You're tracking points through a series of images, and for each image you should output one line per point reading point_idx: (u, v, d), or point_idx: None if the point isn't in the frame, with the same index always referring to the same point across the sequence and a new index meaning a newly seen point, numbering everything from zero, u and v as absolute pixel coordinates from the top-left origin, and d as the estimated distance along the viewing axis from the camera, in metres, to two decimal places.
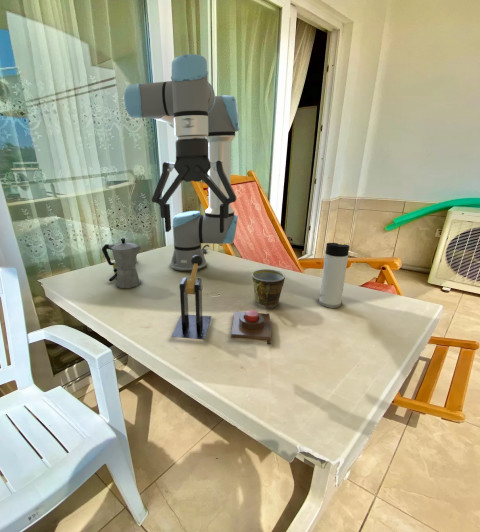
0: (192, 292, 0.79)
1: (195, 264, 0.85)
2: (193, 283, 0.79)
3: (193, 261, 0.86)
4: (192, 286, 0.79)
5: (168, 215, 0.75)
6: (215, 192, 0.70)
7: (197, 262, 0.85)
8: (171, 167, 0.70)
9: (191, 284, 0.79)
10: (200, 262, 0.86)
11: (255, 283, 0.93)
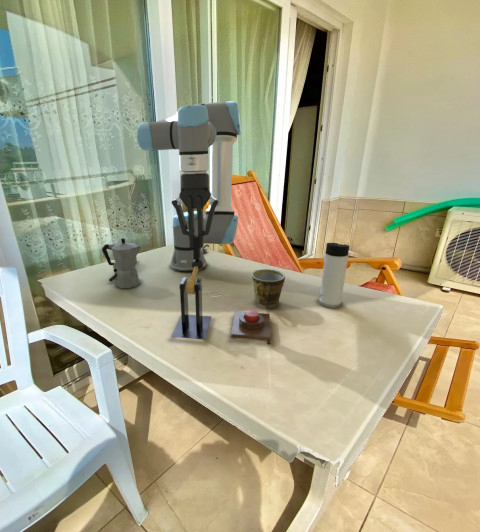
0: (192, 292, 0.79)
1: (195, 267, 0.86)
2: (193, 283, 0.79)
3: (194, 264, 0.86)
4: (192, 285, 0.79)
5: None
6: (198, 223, 0.82)
7: (197, 265, 0.86)
8: (179, 200, 0.82)
9: (192, 283, 0.79)
10: (200, 265, 0.87)
11: (255, 283, 0.93)
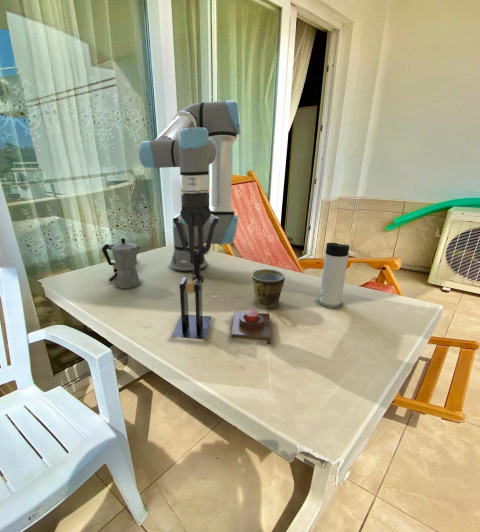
0: (192, 290, 0.79)
1: (196, 279, 0.88)
2: (194, 282, 0.80)
3: (194, 277, 0.89)
4: (192, 283, 0.79)
5: None
6: (199, 240, 0.84)
7: None
8: (180, 218, 0.84)
9: (192, 282, 0.80)
10: None
11: (255, 283, 0.93)
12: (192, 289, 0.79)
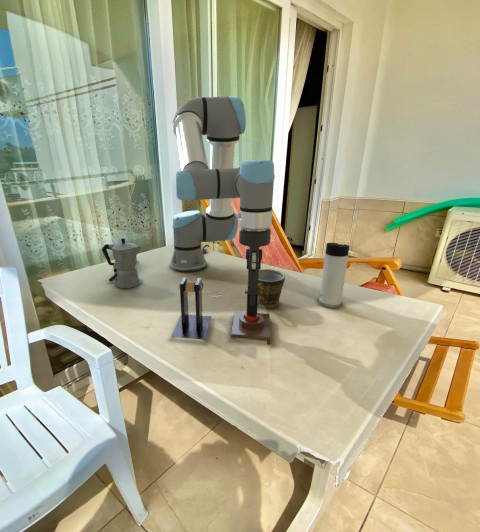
0: (192, 289, 0.79)
1: None
2: None
3: (194, 283, 0.89)
4: (193, 282, 0.79)
5: None
6: None
7: None
8: None
9: None
10: None
11: None
12: (192, 288, 0.79)
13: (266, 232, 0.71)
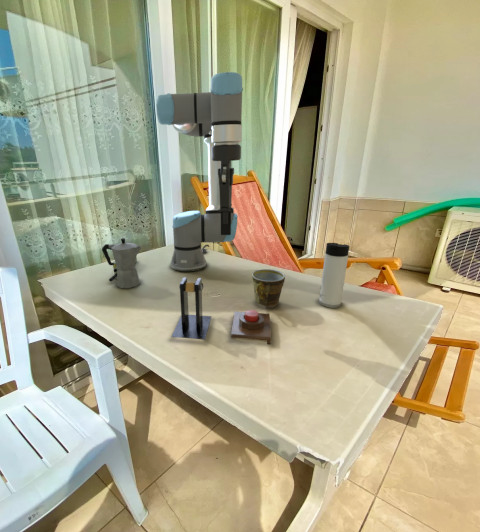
0: (192, 289, 0.79)
1: None
2: None
3: (194, 283, 0.89)
4: (193, 282, 0.79)
5: None
6: None
7: None
8: None
9: None
10: None
11: (255, 283, 0.93)
12: (192, 288, 0.79)
13: (236, 146, 0.75)
